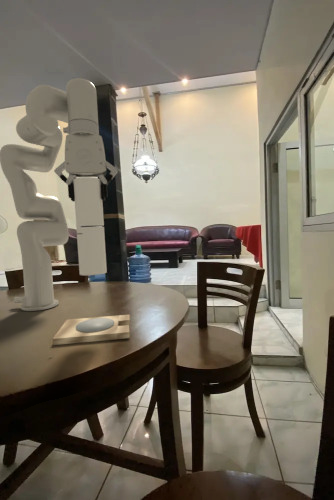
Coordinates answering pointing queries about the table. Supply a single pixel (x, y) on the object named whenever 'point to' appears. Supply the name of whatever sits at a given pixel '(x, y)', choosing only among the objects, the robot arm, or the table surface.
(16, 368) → the table surface
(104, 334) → the notched board
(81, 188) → the cylindrical container
